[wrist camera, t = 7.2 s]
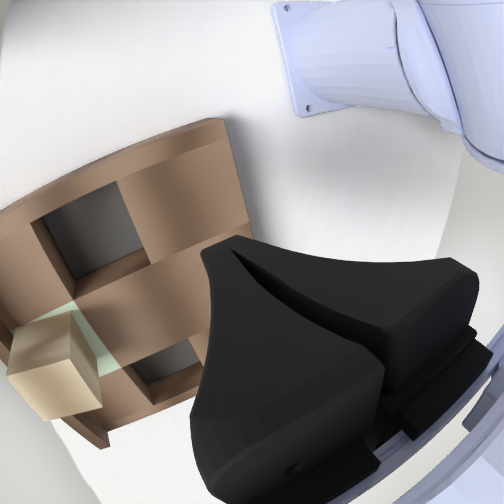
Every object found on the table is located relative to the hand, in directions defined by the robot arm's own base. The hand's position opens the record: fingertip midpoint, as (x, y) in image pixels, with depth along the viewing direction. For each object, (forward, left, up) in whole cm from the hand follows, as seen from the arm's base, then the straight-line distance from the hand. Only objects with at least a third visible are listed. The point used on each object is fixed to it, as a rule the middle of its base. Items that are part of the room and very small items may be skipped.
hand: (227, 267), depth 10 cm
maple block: (+10, +5, -7) cm, 13 cm away
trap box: (+5, +6, -9) cm, 12 cm away
